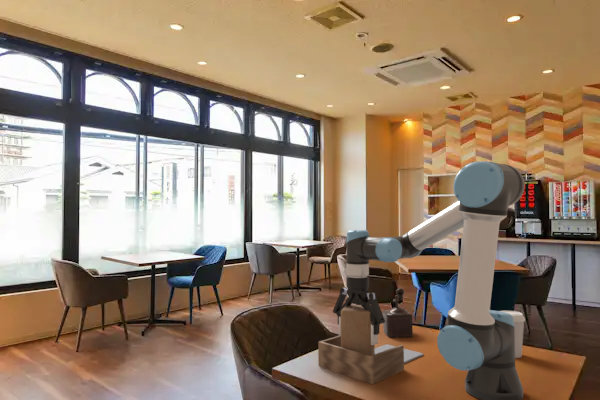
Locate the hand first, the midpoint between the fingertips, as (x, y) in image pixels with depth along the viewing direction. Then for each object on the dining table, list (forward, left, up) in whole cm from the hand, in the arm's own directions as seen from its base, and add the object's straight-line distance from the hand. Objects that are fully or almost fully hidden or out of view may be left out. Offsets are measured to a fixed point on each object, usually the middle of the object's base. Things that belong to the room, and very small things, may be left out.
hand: (357, 339), depth 142 cm
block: (0, 0, -10) cm, 10 cm away
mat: (-1, -20, -9) cm, 22 cm away
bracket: (-1, 0, -9) cm, 9 cm away
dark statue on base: (+15, -45, -10) cm, 48 cm away
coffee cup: (-31, -49, -9) cm, 58 cm away
